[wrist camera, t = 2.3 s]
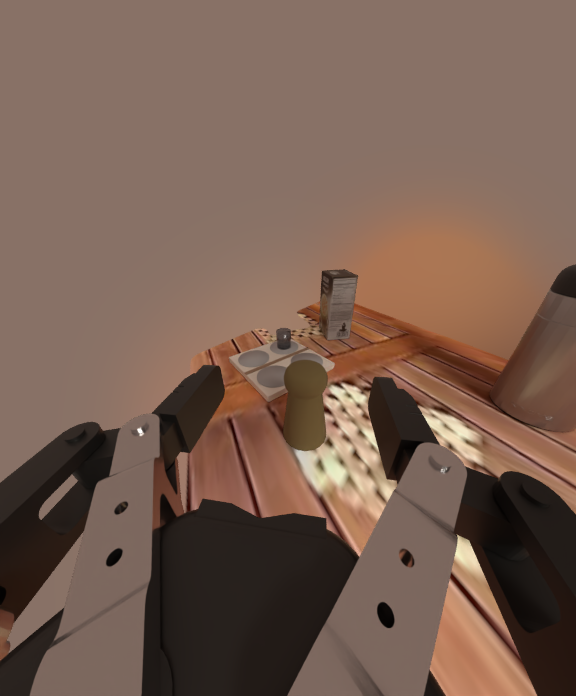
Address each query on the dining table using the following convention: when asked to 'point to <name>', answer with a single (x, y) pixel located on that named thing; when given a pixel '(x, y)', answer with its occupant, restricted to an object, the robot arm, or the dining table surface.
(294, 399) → the pepper mill
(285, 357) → the board
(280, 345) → the pin
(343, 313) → the coffee box
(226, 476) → the dining table surface
